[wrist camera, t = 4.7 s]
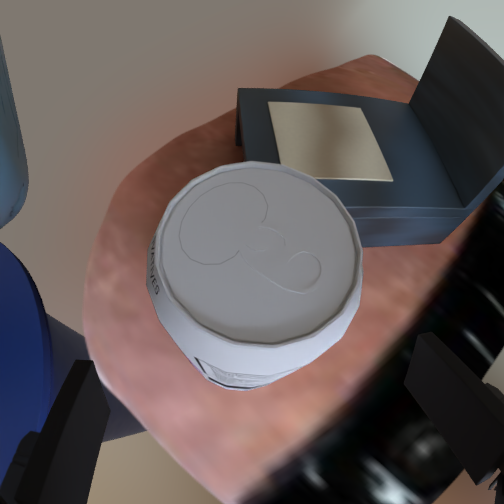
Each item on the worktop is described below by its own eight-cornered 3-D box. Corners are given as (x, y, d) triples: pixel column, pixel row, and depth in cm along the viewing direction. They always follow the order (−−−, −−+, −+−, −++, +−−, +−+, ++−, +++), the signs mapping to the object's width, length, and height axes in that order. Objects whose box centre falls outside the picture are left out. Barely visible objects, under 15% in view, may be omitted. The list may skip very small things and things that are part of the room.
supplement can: (164, 348, 23) (88, 265, 10) (228, 267, 26) (235, 123, 13) (254, 412, 21) (300, 422, 8) (313, 323, 25) (407, 222, 12)
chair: (245, 253, 27) (275, 41, 11) (234, 136, 33) (246, -30, 17) (440, 243, 29) (553, 118, 13) (398, 143, 36) (460, 20, 19)
